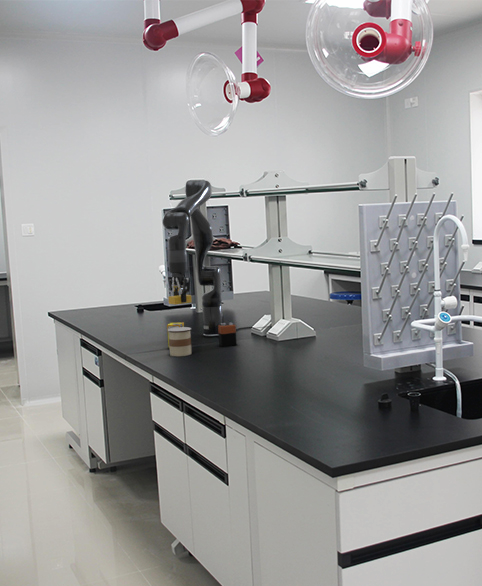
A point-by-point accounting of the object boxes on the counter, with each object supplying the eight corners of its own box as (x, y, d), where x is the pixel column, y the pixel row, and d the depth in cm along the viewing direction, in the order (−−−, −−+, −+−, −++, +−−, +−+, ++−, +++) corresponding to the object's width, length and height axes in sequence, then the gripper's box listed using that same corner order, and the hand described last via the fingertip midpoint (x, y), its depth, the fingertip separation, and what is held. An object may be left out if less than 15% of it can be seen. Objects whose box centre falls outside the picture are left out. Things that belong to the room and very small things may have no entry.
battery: (218, 345, 311) (217, 323, 310) (233, 343, 314) (232, 321, 313) (222, 347, 307) (221, 324, 306) (236, 345, 310) (235, 322, 309)
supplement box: (185, 346, 311) (184, 322, 310) (181, 349, 305) (180, 324, 304) (172, 346, 311) (170, 322, 310) (168, 349, 306) (166, 324, 304)
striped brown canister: (184, 350, 301) (183, 326, 300) (197, 353, 294) (195, 328, 293) (164, 354, 295) (163, 329, 294) (176, 357, 288) (175, 332, 286)
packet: (185, 301, 297) (184, 294, 296) (191, 302, 293) (191, 295, 293) (168, 303, 291) (168, 296, 291) (175, 304, 288) (174, 297, 287)
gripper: (195, 260, 287) (197, 302, 289) (176, 259, 298) (178, 299, 300) (179, 262, 282) (181, 304, 284) (161, 261, 293) (163, 301, 295)
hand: (180, 301), depth 292 cm, fingers closed on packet, 5 cm apart
